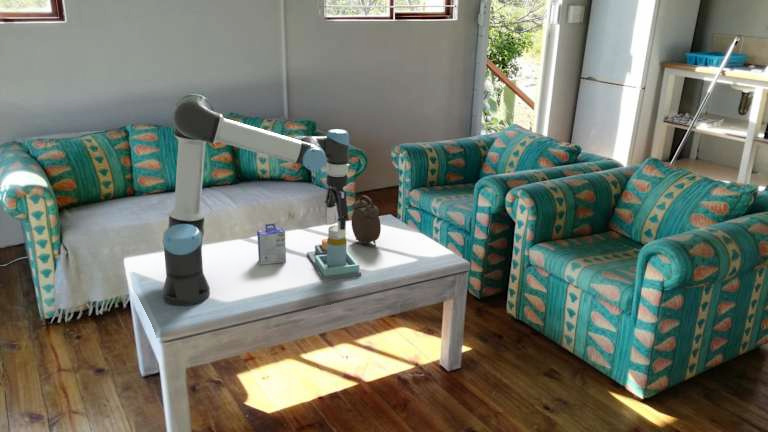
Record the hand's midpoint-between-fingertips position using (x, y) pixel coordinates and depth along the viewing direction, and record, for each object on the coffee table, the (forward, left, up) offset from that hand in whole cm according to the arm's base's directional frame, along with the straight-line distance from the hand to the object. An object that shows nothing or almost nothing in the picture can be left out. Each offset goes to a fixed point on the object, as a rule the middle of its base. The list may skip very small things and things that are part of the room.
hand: (335, 230), depth 240 cm
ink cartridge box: (-21, +14, -16) cm, 30 cm away
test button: (0, +11, -13) cm, 18 cm away
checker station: (0, +4, -15) cm, 16 cm away
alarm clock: (+19, +21, -16) cm, 33 cm away
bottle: (0, 0, -14) cm, 14 cm away
